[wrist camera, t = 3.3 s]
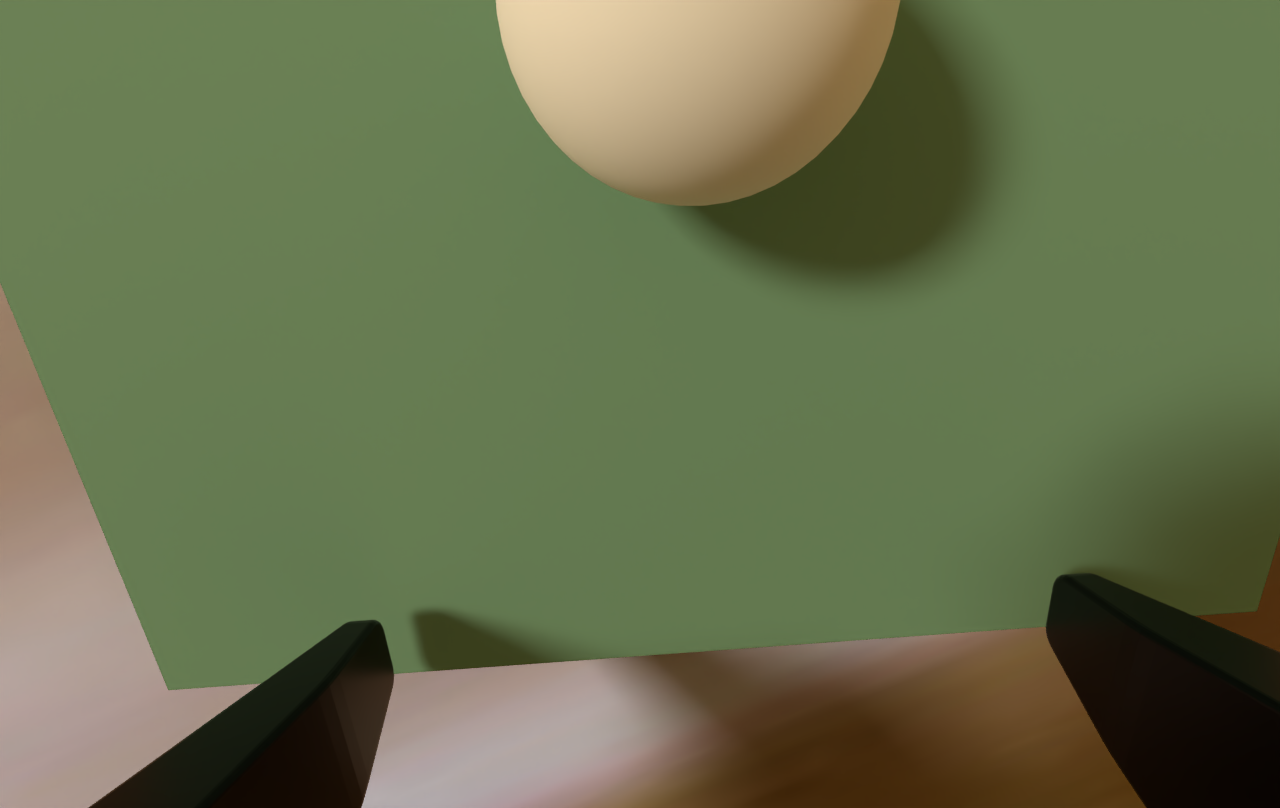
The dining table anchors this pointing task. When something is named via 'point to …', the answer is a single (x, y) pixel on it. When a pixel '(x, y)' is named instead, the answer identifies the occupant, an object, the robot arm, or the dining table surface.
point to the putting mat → (644, 334)
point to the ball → (694, 86)
